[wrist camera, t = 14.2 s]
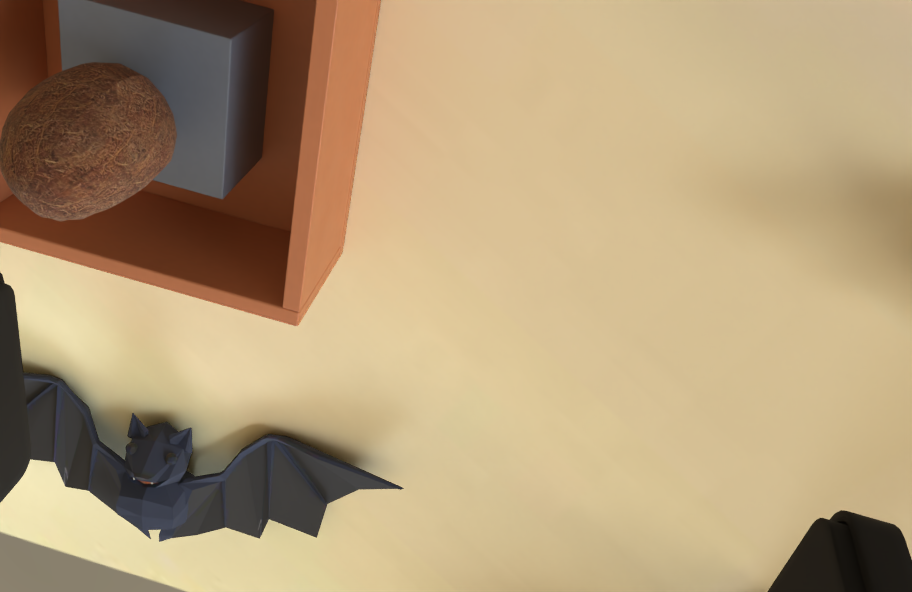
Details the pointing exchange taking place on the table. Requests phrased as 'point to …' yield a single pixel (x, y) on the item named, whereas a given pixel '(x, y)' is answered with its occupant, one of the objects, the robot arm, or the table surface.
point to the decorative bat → (186, 472)
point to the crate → (256, 195)
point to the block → (187, 75)
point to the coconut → (86, 140)
